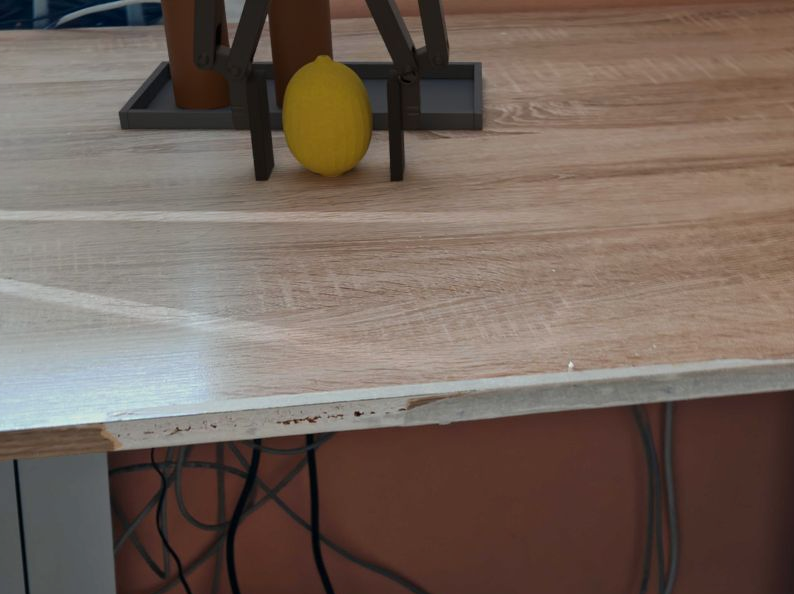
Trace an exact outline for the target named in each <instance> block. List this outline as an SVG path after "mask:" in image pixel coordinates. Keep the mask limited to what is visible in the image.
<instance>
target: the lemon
mask: <svg viewBox="0 0 794 594" xmlns="http://www.w3.org/2000/svg"><path fill="white" fill-rule="evenodd" d="M339 62H340V61H336V60H334V59H333V60H332V59H331V58H330V57H329V56H327V55H321V56H318V57H317V58H316V60H315V61H313V62H311V63H309V64H307V65H305V66H303V67H302V68H301V69H299V70H298V71H297V72H296V73H295V74H294V76H293V77H292V78H291V80H290V81H289V83H288V85H287V88H286V91H285V95H284V100H283V109H282V120H283V130H282V131H283V134H284V139H285V142H286V146H287V147H288V149H289V151H290V154H291V155H292V157H294V158H295V160H296V161H297V162H298V164H300V165H301V166H302V167H304V168H305V169H306V170H309V171H310V172H312V173H316V174H319V175H321V176H322V177H326V178H335V177H339V176H341V175H343V173H346V172H349V171H350V170H352V169H353V168H355V167H356V166H358V164H359V163H360V162H361V161H362V160H363V158H365V155H366V154H367V153H368V151H369V148H370V145H371V141H372V135H373V130H372V125H373V118H372V109H371V104H370V100H369V96H368V93H367V91H366V88H365V86H364V84H363V82H362V81H361V79H360V78H359V77H358V75H357V74H356V73H355V72H354V71H353V70H351V69H350V68H349V67H347V66H345V65H344V64H342V63H339Z"/></svg>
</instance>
